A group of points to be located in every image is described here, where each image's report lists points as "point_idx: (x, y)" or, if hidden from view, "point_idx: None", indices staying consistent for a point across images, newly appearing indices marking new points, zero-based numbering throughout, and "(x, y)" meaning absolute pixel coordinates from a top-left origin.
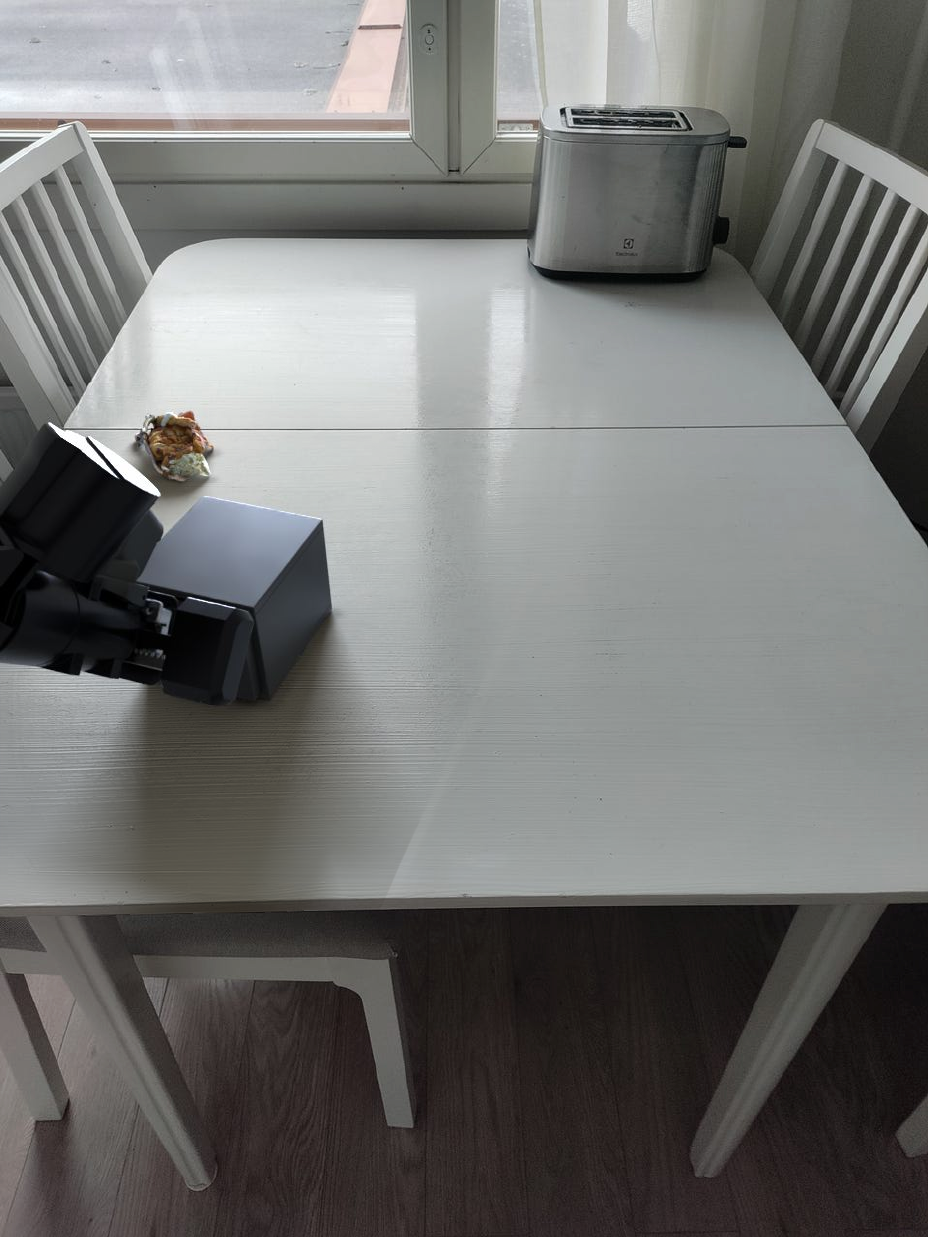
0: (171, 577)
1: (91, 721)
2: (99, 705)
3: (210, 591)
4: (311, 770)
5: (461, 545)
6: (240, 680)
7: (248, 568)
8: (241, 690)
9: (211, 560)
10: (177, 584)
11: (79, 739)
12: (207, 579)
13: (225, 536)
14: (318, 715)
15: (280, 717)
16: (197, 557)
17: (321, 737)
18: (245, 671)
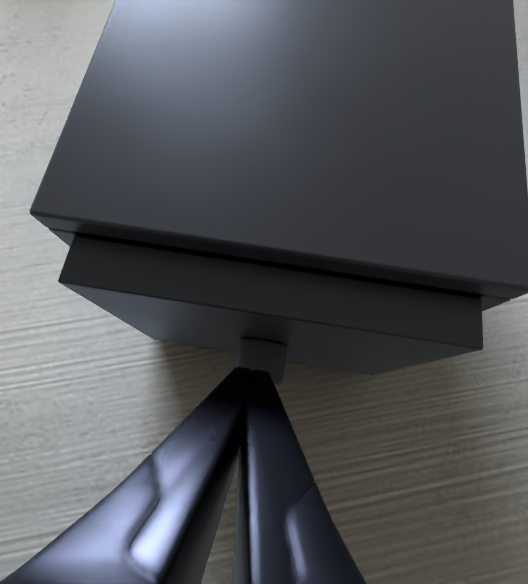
0: (194, 186)
1: (91, 454)
2: (93, 411)
3: (351, 232)
4: (521, 506)
5: (520, 4)
6: (366, 367)
7: (418, 117)
8: (357, 369)
9: (288, 99)
10: (227, 215)
11: (83, 505)
12: (314, 179)
13: (285, 6)
14: (474, 371)
15: (415, 387)
16: (242, 92)
17: (502, 422)
18: (394, 367)
